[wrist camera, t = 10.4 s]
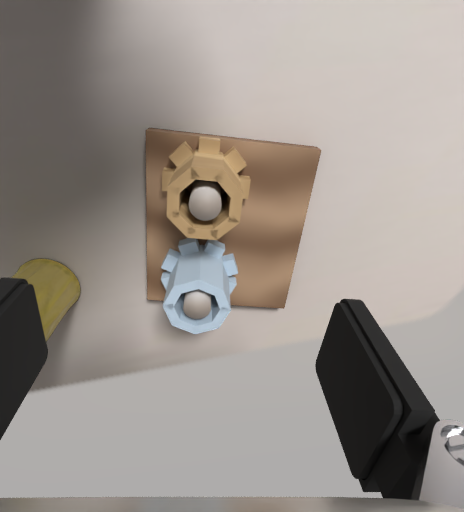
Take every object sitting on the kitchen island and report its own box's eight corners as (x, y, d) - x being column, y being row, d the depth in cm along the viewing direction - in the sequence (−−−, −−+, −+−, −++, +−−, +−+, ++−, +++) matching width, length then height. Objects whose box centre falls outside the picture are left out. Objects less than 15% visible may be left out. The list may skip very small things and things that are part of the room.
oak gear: (164, 132, 25) (151, 145, 20) (254, 142, 26) (264, 157, 20) (163, 216, 28) (151, 247, 23) (242, 223, 29) (248, 255, 24)
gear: (151, 248, 30) (137, 284, 24) (224, 227, 29) (226, 259, 24) (178, 307, 33) (171, 349, 28) (244, 289, 32) (250, 329, 27)
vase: (90, 276, 33) (13, 398, 20) (67, 317, 35) (-17, 450, 22) (29, 246, 31) (-98, 360, 18) (8, 291, 33) (-118, 420, 20)
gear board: (149, 127, 26) (127, 143, 20) (316, 146, 28) (348, 167, 21) (149, 291, 34) (134, 341, 27) (281, 299, 35) (297, 350, 28)
